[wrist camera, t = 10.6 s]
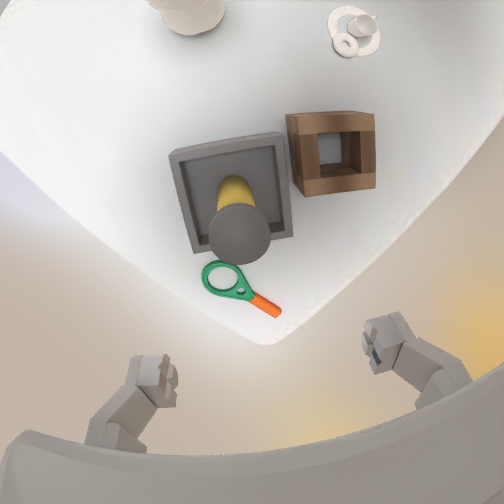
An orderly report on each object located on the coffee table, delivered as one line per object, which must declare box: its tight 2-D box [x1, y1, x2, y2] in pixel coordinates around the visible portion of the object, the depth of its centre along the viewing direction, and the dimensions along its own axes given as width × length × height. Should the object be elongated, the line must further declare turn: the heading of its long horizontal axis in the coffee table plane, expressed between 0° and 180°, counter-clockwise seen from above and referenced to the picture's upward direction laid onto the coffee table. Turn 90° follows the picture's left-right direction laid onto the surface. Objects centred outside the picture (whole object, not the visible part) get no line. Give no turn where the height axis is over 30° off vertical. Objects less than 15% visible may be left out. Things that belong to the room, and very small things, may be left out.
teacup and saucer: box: [328, 6, 381, 57], centre depth 24 cm, size 9×8×4 cm
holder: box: [285, 111, 376, 197], centre depth 31 cm, size 9×9×6 cm
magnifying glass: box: [202, 260, 282, 318], centre depth 44 cm, size 15×6×2 cm, turn 49°
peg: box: [209, 175, 271, 265], centre depth 29 cm, size 5×5×14 cm
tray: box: [169, 132, 293, 254], centre depth 34 cm, size 13×13×4 cm
